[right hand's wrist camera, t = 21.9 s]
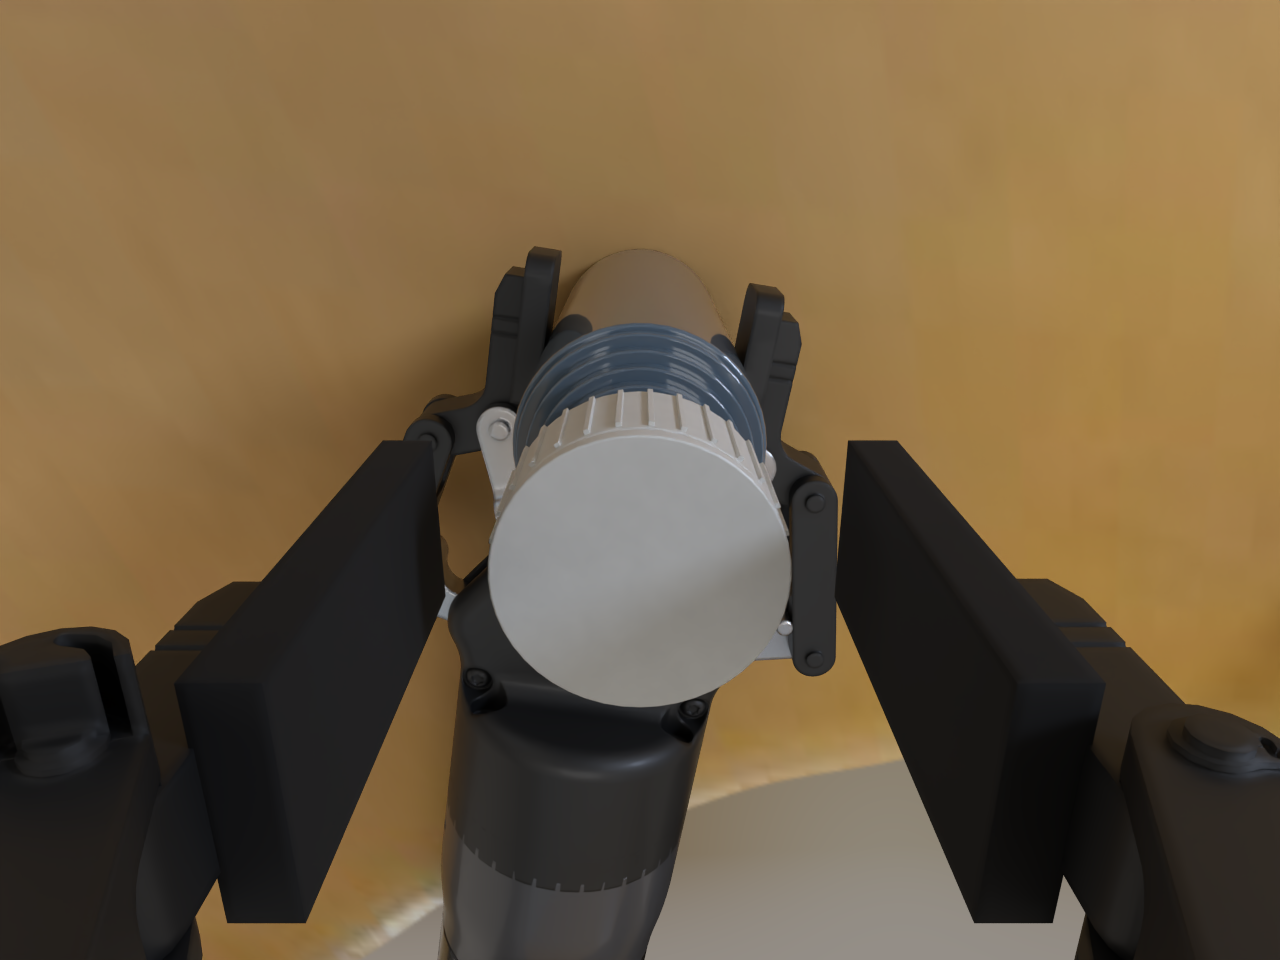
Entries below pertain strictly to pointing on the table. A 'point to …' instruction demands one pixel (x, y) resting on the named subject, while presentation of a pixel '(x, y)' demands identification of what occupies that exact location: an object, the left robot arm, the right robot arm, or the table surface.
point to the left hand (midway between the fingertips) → (655, 273)
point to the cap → (639, 551)
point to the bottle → (639, 347)
